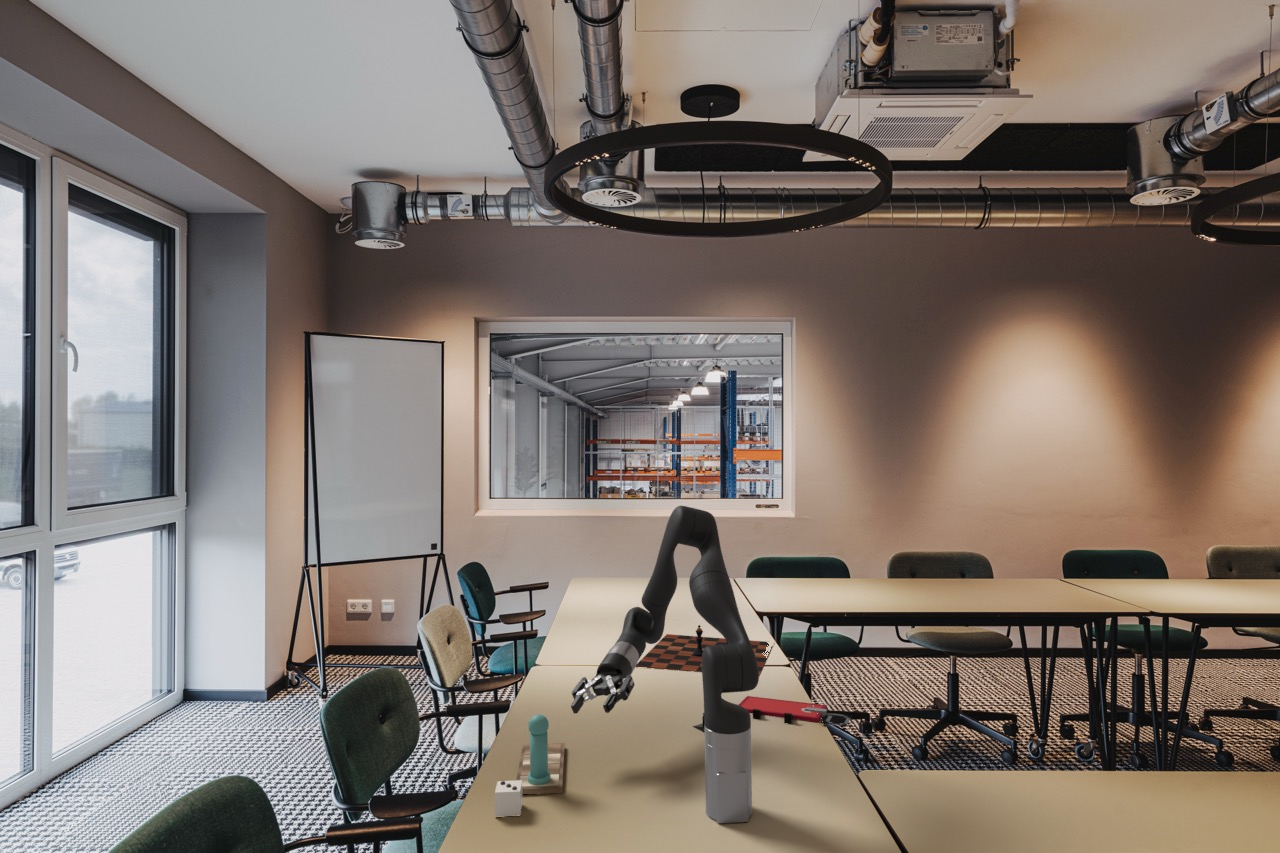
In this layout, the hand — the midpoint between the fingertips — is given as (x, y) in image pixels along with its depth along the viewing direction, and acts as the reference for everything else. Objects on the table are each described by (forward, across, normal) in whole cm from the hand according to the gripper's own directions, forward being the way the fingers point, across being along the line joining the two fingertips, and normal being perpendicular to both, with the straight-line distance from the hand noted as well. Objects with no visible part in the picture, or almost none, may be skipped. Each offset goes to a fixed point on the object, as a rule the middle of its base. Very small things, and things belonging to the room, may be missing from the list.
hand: (589, 710), depth 174 cm
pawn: (+14, -9, +7) cm, 18 cm away
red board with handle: (-44, +26, +39) cm, 65 cm away
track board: (+7, -14, +10) cm, 18 cm away
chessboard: (-86, -15, +48) cm, 99 cm away
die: (+25, -8, +4) cm, 27 cm away
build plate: (-27, +11, +29) cm, 41 cm away
